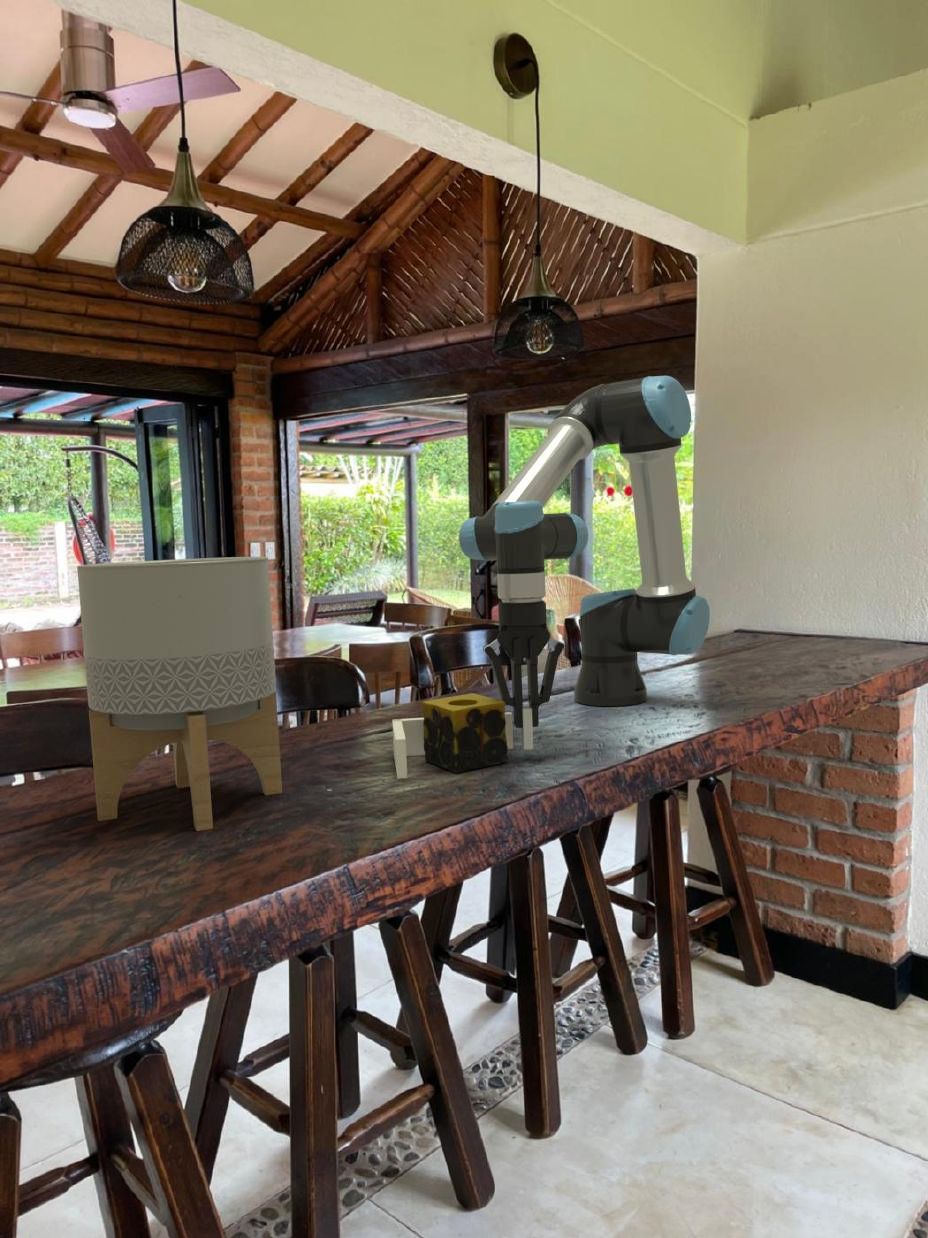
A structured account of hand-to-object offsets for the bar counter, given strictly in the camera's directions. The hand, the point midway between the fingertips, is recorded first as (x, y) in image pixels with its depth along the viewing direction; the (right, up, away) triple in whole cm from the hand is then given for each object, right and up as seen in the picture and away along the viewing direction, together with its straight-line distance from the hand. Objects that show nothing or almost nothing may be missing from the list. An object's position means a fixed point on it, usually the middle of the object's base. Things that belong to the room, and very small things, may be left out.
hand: (527, 747), depth 143 cm
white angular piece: (-11, -2, +1) cm, 11 cm away
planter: (-48, -6, -17) cm, 51 cm away
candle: (-10, -3, 0) cm, 10 cm away
